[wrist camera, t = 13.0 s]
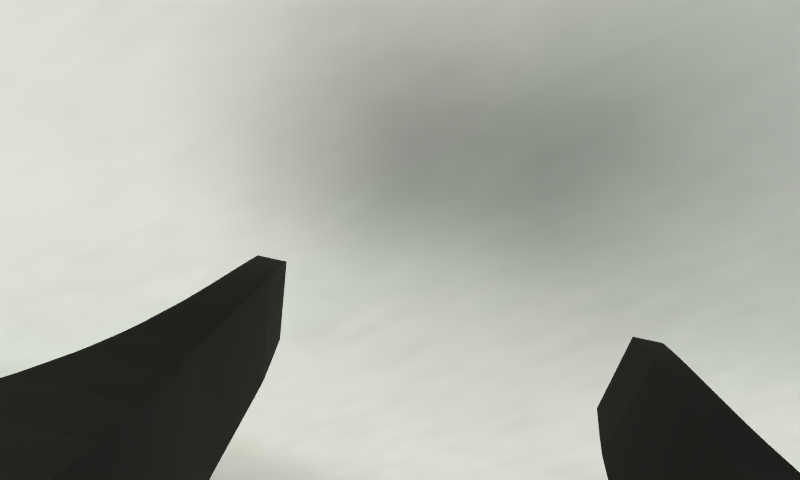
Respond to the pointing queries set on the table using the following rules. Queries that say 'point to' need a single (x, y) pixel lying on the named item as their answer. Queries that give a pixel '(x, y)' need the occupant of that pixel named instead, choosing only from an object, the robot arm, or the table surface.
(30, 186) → the table surface
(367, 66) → the table surface
